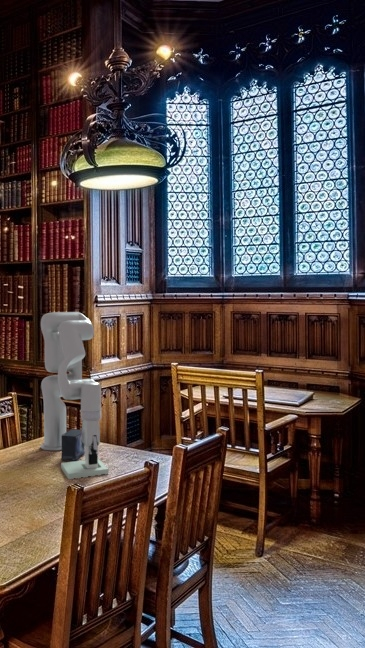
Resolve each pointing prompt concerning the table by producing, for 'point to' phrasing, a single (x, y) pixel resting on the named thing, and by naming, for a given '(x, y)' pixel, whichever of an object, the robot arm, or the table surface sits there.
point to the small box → (72, 445)
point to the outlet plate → (82, 469)
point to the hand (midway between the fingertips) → (91, 461)
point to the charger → (88, 458)
